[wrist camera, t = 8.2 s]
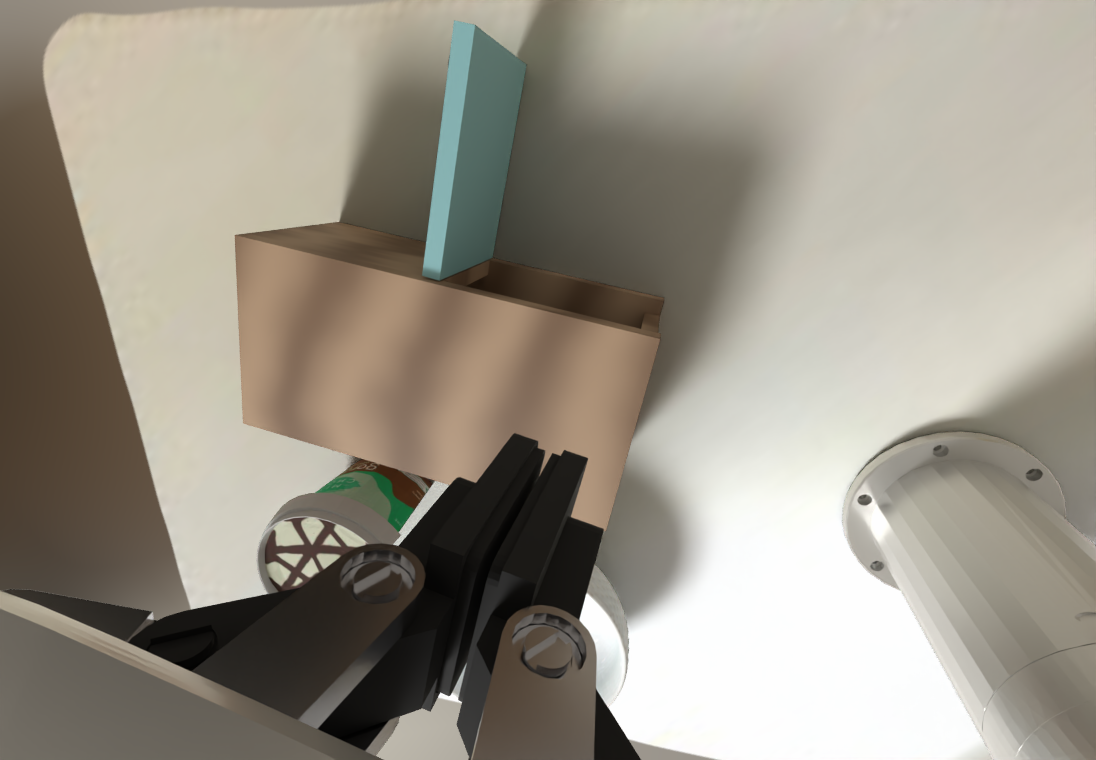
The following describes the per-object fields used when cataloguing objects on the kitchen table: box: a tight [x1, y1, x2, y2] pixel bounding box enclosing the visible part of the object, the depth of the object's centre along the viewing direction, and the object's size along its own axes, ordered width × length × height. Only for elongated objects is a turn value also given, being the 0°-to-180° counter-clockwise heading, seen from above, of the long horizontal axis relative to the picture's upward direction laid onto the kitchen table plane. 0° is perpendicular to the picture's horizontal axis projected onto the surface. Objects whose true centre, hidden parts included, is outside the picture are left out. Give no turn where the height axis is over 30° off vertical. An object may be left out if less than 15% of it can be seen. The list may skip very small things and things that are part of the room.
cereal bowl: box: [452, 564, 629, 707], centre depth 43 cm, size 17×17×7 cm
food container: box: [257, 459, 432, 594], centre depth 42 cm, size 12×6×10 cm, turn 124°
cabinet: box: [235, 222, 664, 531], centre depth 35 cm, size 24×12×10 cm, turn 79°
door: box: [422, 21, 526, 281], centre depth 30 cm, size 12×2×9 cm, turn 168°
